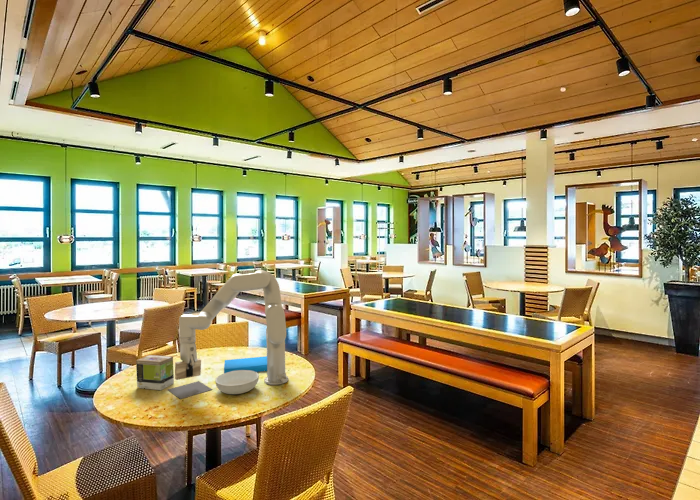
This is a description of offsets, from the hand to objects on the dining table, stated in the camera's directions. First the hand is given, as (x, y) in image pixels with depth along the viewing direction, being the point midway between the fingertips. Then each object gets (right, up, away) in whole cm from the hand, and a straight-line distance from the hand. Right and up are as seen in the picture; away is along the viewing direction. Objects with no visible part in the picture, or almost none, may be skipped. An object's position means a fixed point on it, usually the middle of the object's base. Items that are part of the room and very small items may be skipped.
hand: (188, 375), depth 204 cm
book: (+21, -7, +32) cm, 39 cm away
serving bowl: (+25, -8, -1) cm, 26 cm away
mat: (+1, -8, 0) cm, 8 cm away
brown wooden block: (0, -1, 0) cm, 1 cm away
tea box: (-19, -8, +6) cm, 22 cm away
